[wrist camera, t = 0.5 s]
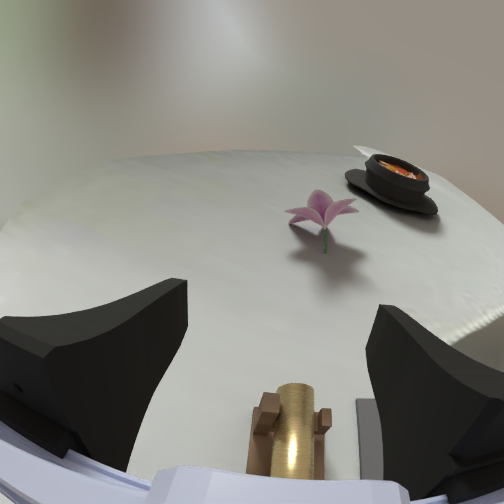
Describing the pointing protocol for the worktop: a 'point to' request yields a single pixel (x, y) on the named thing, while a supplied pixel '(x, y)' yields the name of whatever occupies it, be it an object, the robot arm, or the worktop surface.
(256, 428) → the hook stand
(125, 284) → the worktop surface
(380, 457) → the mat
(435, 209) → the casserole
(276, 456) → the rail
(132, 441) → the robot arm
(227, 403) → the worktop surface
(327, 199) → the lily
